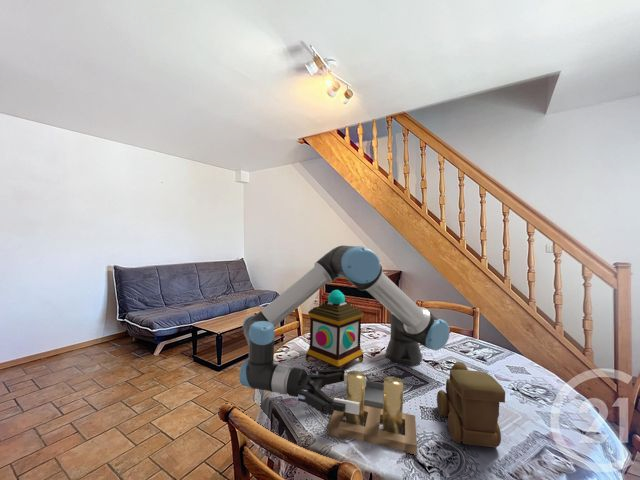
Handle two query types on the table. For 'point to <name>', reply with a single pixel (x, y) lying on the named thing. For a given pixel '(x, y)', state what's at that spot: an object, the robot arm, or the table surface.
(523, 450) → the table surface
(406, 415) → the wooden holder frame
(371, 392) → the grey square tray
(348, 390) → the cylinder
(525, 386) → the table surface
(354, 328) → the decorative lantern
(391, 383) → the cylinder
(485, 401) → the wooden toy train
